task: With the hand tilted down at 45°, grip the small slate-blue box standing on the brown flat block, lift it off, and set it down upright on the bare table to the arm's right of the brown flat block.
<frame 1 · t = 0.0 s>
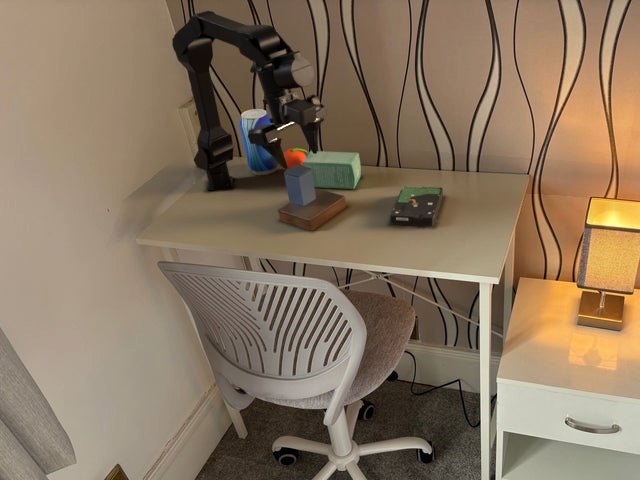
hand: (300, 160, 139), 15 cm above the table, tool pointing down, fingers open, 9 cm apart
clementine: (298, 173, 170), on the table
small box: (302, 200, 151), point 3 cm above the table, touching brown flat block
box: (334, 183, 164), on the table
disk drive: (417, 211, 150), on the table
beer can: (265, 170, 173), on the table
brown flat block: (313, 213, 151), on the table, touching small box
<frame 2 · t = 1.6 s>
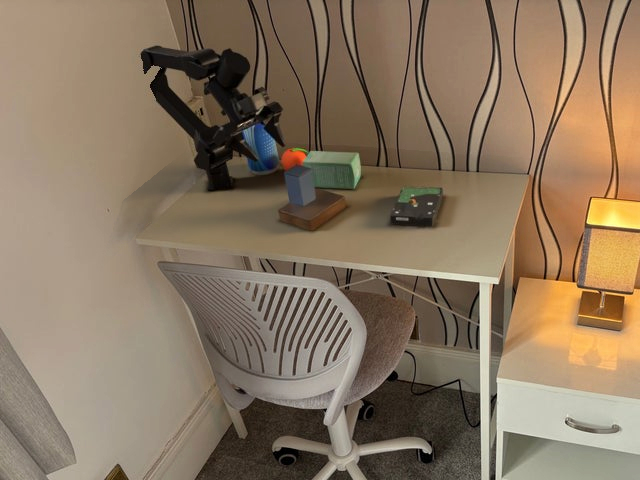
hand: (271, 153, 148), 14 cm above the table, tool tilted 40°, fingers open, 9 cm apart
nothing on the table moved.
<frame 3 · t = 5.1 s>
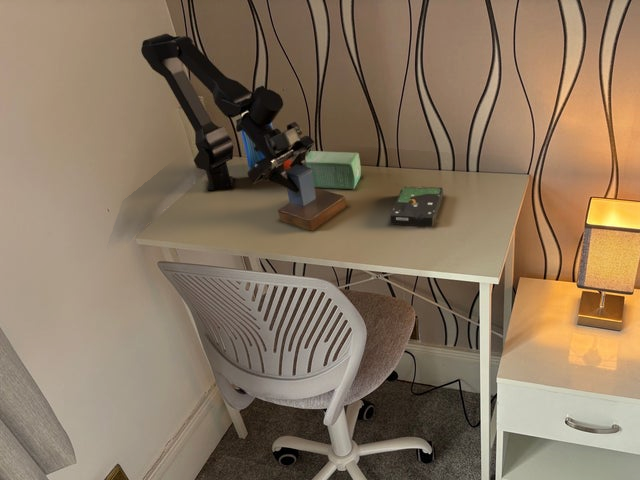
hand: (304, 187, 148), 7 cm above the table, tool tilted 45°, fingers closed on small box, 4 cm apart
small box: (302, 200, 151), point 3 cm above the table, touching gripper, brown flat block
everything else where it was.
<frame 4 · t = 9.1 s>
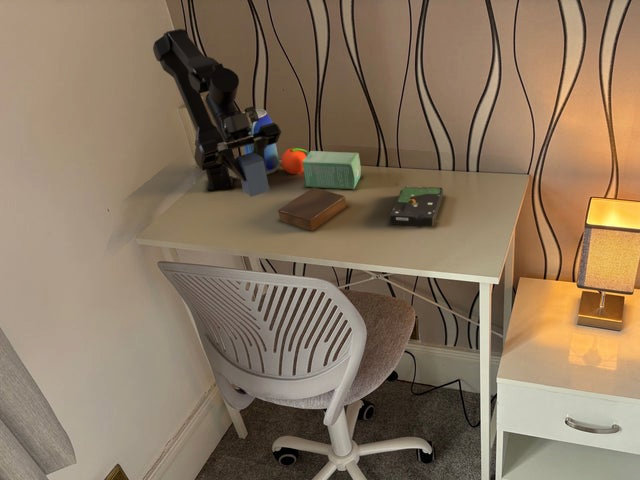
hand: (255, 177, 139), 13 cm above the table, tool tilted 45°, fingers closed on small box, 4 cm apart
small box: (256, 190, 142), point 10 cm above the table, touching gripper
brown flat block: (313, 213, 151), on the table
everything else where it was.
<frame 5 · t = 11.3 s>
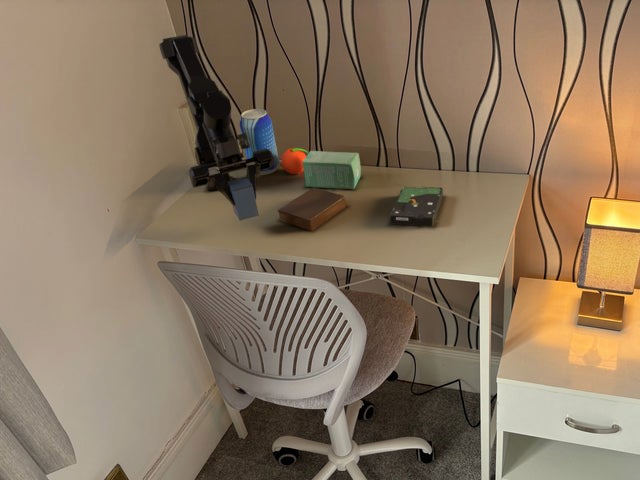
hand: (244, 202, 141), 8 cm above the table, tool tilted 45°, fingers closed on small box, 4 cm apart
small box: (246, 214, 144), point 4 cm above the table, touching gripper
everything else where it was.
when the fingers open (4 cm above the table, at t = 13.1 s): small box stays where it is, on the table.
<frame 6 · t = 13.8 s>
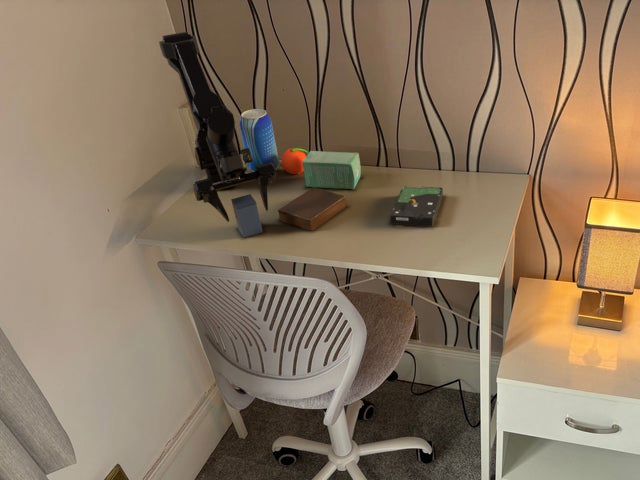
hand: (248, 215, 143), 5 cm above the table, tool tilted 45°, fingers open, 9 cm apart
small box: (250, 230, 147), on the table
everything else where it was.
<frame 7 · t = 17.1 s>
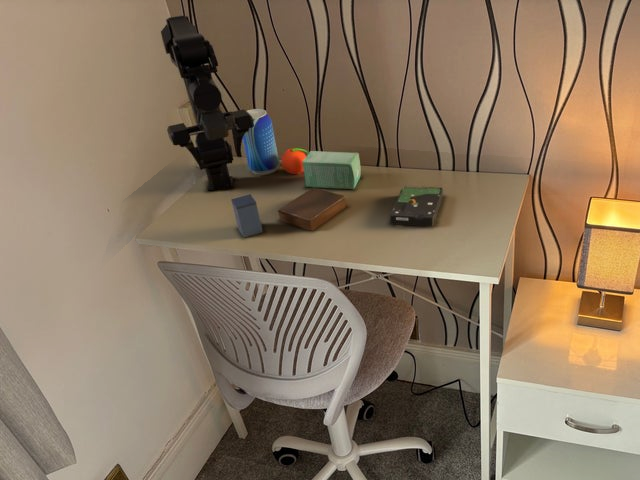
hand: (219, 161, 148), 13 cm above the table, tool pointing down, fingers open, 9 cm apart
nothing on the table moved.
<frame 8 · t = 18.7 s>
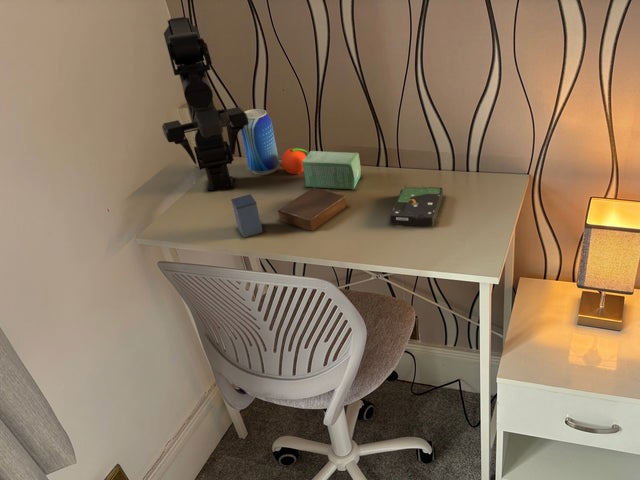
hand: (214, 158, 149), 13 cm above the table, tool pointing down, fingers open, 9 cm apart
nothing on the table moved.
at the end: small box 0.1 cm from the target spot, on the table; small box tilted 0°; brown flat block moved 0.0 cm from its start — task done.
